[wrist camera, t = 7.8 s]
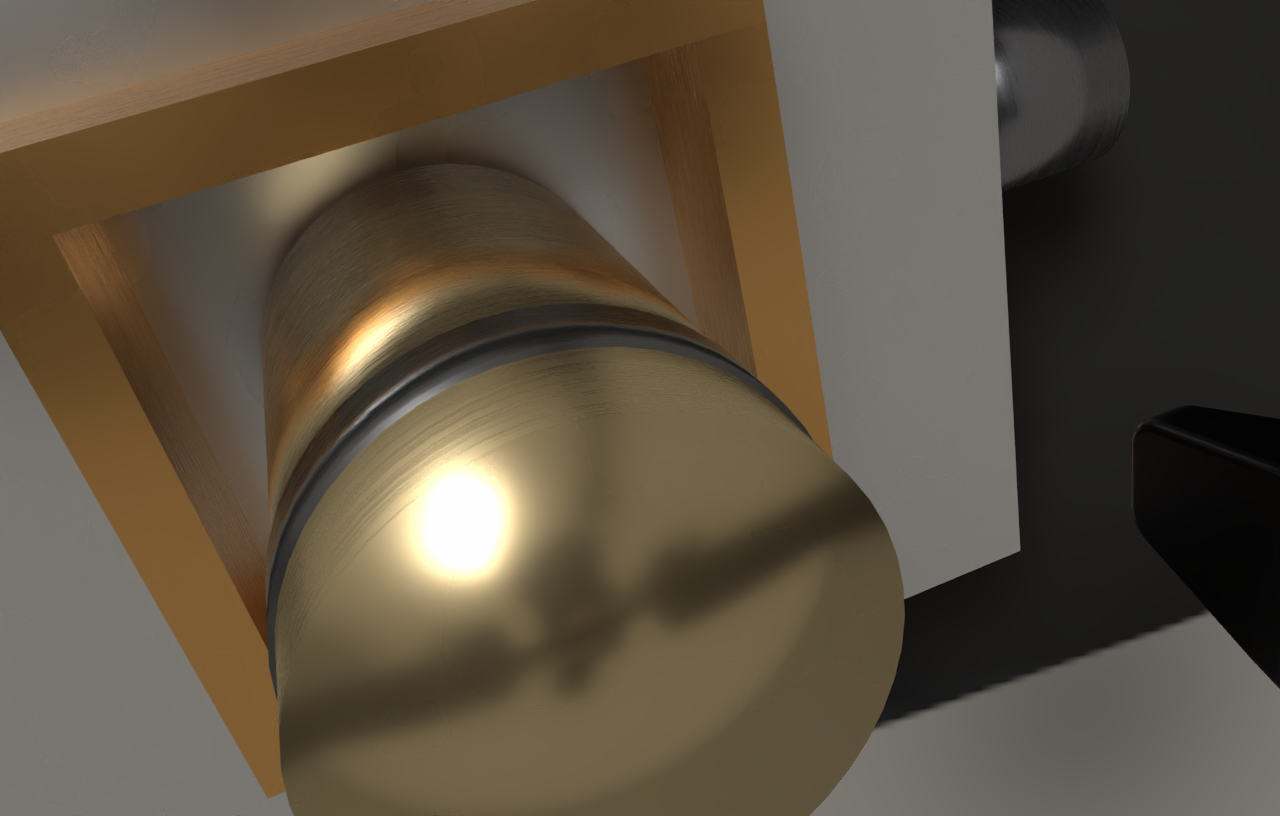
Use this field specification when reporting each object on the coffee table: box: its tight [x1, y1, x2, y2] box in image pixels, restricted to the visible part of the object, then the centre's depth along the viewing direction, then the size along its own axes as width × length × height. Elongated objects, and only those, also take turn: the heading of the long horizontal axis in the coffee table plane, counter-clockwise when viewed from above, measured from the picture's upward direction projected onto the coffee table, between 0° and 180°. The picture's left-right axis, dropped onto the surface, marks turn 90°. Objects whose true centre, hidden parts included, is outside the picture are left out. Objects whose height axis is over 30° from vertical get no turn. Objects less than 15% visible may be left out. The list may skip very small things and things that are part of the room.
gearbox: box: [0, 0, 1130, 816], centre depth 15 cm, size 19×14×7 cm
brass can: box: [261, 164, 905, 816], centre depth 11 cm, size 5×5×7 cm
